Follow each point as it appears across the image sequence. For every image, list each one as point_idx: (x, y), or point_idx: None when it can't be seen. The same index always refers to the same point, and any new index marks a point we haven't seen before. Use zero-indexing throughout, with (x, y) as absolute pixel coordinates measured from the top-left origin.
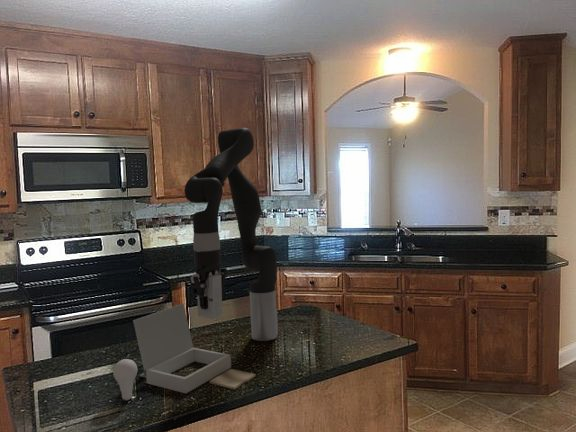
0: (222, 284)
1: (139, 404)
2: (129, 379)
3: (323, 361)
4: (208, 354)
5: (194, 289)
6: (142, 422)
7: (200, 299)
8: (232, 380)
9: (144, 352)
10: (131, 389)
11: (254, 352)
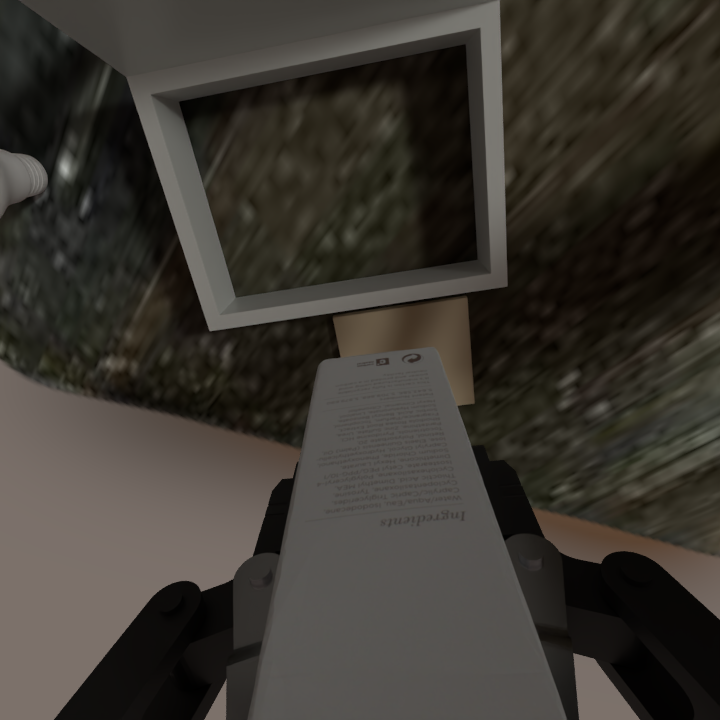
0: (624, 686)
1: (64, 247)
2: None
3: (688, 493)
4: (482, 154)
5: (131, 675)
6: (35, 360)
7: (261, 549)
8: None
9: (82, 28)
10: (19, 201)
11: (695, 225)
